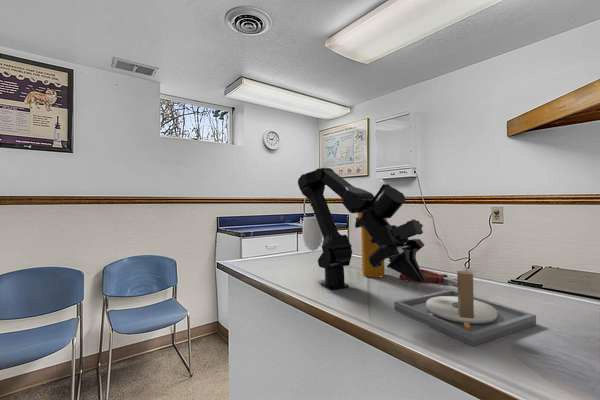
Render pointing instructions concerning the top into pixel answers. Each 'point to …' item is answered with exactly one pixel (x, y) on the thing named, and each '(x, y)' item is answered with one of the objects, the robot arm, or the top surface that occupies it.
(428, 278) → the pliers
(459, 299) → the dial
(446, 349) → the top surface
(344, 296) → the top surface
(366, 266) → the flashlight
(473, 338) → the dial board
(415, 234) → the robot arm
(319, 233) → the grey rounded cylinder
